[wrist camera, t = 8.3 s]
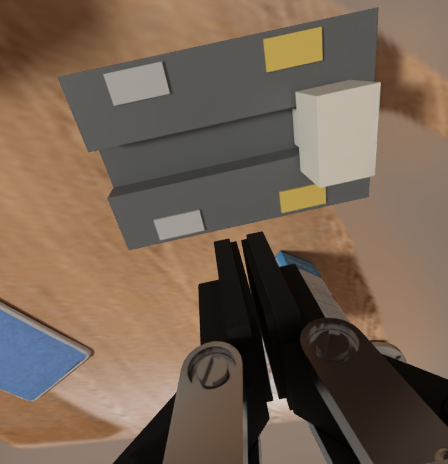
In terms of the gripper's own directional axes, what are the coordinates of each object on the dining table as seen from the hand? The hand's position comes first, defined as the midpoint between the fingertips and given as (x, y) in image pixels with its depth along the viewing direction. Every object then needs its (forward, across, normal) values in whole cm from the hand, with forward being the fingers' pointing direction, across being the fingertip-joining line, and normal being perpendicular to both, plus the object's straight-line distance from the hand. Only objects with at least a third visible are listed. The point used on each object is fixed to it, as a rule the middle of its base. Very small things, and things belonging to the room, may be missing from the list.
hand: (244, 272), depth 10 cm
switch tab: (+18, -9, -1) cm, 20 cm away
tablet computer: (+20, +30, +16) cm, 39 cm away
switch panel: (+19, -2, -1) cm, 20 cm away
